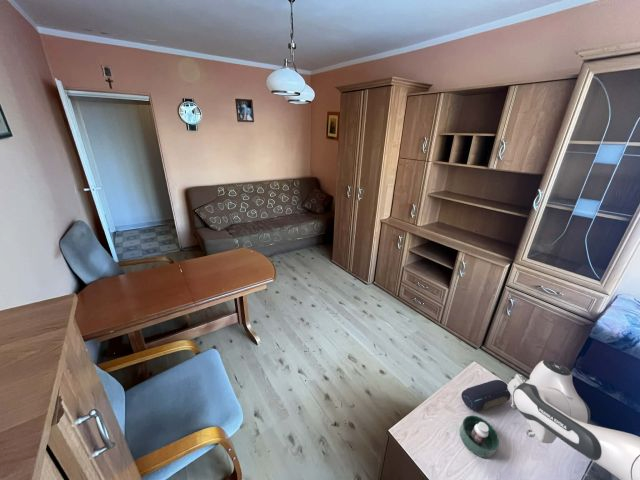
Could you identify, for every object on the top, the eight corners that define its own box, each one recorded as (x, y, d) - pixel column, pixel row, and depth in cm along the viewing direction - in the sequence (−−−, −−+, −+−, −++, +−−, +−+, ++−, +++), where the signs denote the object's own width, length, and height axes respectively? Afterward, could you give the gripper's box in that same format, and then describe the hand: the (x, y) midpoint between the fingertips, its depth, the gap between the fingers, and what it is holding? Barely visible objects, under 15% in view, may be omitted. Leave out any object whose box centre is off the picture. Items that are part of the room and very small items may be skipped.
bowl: (500, 460, 111) (505, 452, 109) (467, 456, 112) (471, 448, 109) (484, 424, 124) (488, 417, 121) (454, 421, 124) (457, 414, 122)
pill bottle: (471, 444, 116) (478, 431, 111) (468, 431, 120) (474, 418, 116) (485, 447, 115) (492, 434, 111) (481, 434, 120) (488, 421, 115)
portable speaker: (471, 417, 126) (478, 404, 122) (456, 398, 135) (462, 385, 131) (510, 404, 134) (518, 391, 129) (493, 386, 142) (500, 373, 138)
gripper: (510, 370, 101) (497, 393, 107) (547, 427, 83) (530, 451, 89) (527, 371, 101) (513, 394, 107) (568, 429, 83) (549, 453, 89)
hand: (521, 420), depth 98 cm, fingers open, 8 cm apart
